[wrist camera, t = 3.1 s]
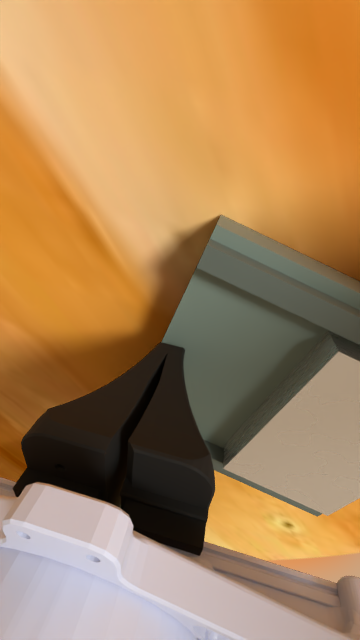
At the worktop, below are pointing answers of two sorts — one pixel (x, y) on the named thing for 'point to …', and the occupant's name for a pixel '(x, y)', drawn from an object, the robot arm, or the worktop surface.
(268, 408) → the cover plate
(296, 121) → the worktop surface
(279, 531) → the worktop surface
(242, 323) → the case
